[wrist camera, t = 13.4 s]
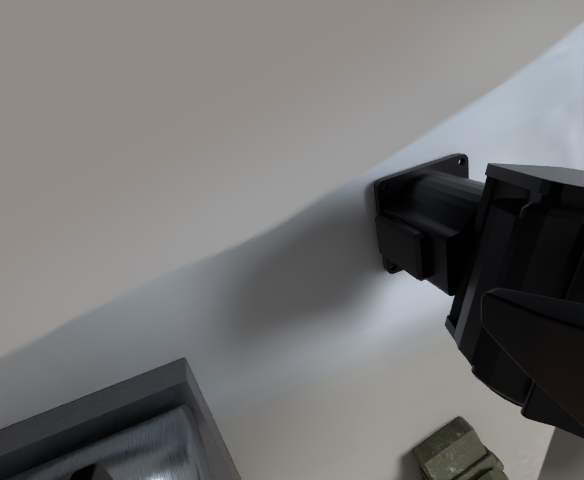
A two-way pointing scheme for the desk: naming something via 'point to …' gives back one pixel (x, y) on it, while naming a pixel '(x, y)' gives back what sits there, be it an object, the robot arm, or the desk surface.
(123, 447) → the motor mount
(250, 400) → the desk surface
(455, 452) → the mechanical leg
